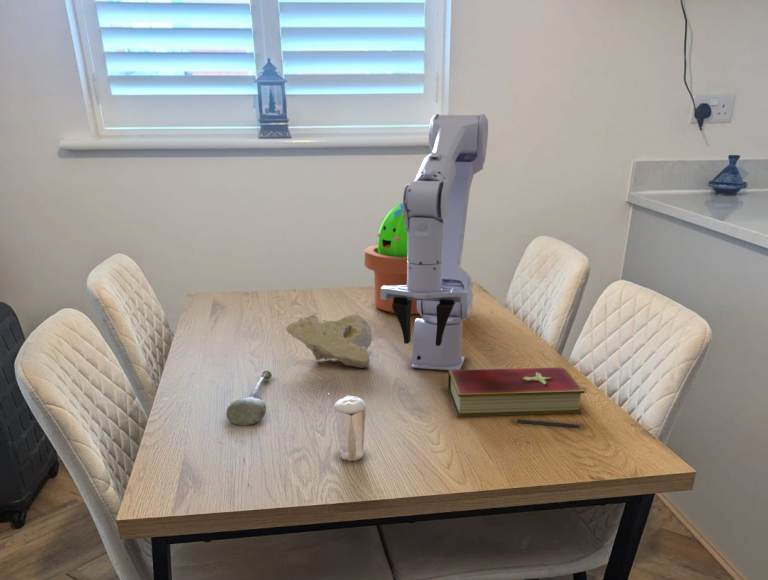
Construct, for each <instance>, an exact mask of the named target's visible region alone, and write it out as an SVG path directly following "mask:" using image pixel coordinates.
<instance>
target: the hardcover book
mask: <svg viewBox="0 0 768 580" xmlns="http://www.w3.org/2000/svg"><path fill="white" fill-rule="evenodd" d="M447 374H448V375H447V377H448V378H447V392H448V395H449V398H450V400H451V403H452V406H453V410H454V412H455V415H456V417H457V418H465V417H466V418H467V417H496V416H501V417H502V416H527V415H528V416H531V415H563V414H565V415H567V414H582V413H583V410H582V409H581V408H580V403H581V397H582V394H585V389H584V388H583V387H582V386H581V385H580V384H579V382H578V381H577V380H576V379H575V377H574V376H573V375H572V374H571V372H570V371H569V370H568V369H567V367H565V366H562V367H561V366H557V367H524V368H523V367H522V368H521V367H520V368H489V369H488V368H487V369H483V368H482V369H481V368H480V369H460V370H448V373H447Z"/></svg>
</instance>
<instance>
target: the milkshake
mask: <svg viewBox="0 0 768 580" xmlns="http://www.w3.org/2000/svg"><path fill="white" fill-rule="evenodd" d="M327 396H328V398H329V399H330V401H331V403H332V405H333V406H334V413H335V419H336V427H337V436H338V444H339V452H340V457H341V458H342V459H343V460H344V461H348V462H357V461H359V460H362V458H363V456H364V447H365V427H366V414H367V404H366V402H365V401H364V400H363V399H362V398H359V397H358V396H356V395H355V396H354V395H353V396H352V395H346V396H345V397H343V398H339V399H338V400H336V402H335V403H334V401H333V399H332V398H331V395H330V393H328V395H327Z"/></svg>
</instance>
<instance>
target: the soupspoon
mask: <svg viewBox="0 0 768 580" xmlns="http://www.w3.org/2000/svg"><path fill="white" fill-rule="evenodd" d="M261 374H262V375H261V376H260V378H259V380H258V381H257V382H256V384H255V385H254V388H253V389H252V391H251V392H250V394H249V397H248V396H247V397H242V398H238V399H236V400H234V401H233V402H230V404H229V405H228V406H227V408H226V411H225V412H226V418H227V419H228V420H229V421H230V423H232V424H234V425H237V426H240V427H242V426H243V427H247V426H252V425H255V424H257V423H259V422H260V421H261V420H262V419H263V418H264V416H265V414H266V411H267V405H266V403H265V402H264V400H262V399H260V398H257V397H256V394H257V392H258V390H259V389H260V387H261V384H262V383H263V382H264V381H265V380H271V378H272V376H273V375H272V372H271V370H264V371H262V373H261Z"/></svg>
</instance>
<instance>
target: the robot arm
mask: <svg viewBox="0 0 768 580" xmlns="http://www.w3.org/2000/svg"><path fill="white" fill-rule="evenodd" d="M488 137H489V120H488V117H487V116H486V115H485V114H484V113H481V114H439V113H435V114H434V115H433V116H432V117H431V119H430V122H429V126H428V146H429V149H430V154H428V155H427V156H426V157H425V158H424V159H423V161H422V163H421V166H420V168H419V170H418V173H417V174H416V177H415V179H414V180H411V181H410V183H406V184H405V187H404V189H403V196H402V203H403V212H404V218H405V231H407V232H408V246H407V285H397V286H384V285H383V286H382V287H381V288H380V289H381V300H387V299H393V304H392V308H393V310H394V312H395V313H394V314H395V316H396V318H397V321H398V323H399V325H400V330H401V333H402V337H403V342H404V344H406V345H409V344H410V342H411V341H412V364H411V368H412V369H420V370H421V369H422V370H423V369H424V370H437V371H449V370H462V368H463V367H462V366H463V365H464V362H465V360H466V356H464V355H462V345H463V344H462V343H463V325H464V320H467V319H468V318H469V317H470V316H471V312H472V308H473V295H474V293H473V287H474V281H473V278H472V276H471V275H470V274H469V273H468V272H467V271H466V270H464V269H463V268H462V266H461V264H462V257H463V248H464V240H465V234H466V233H465V232H466V224H467V223H466V222H467V215H468V206H469V199H470V191H471V187H472V184H473V183H472V182H473V179H474V175H475V174H476V175H477V173H479V172H480V171H482V170H484V164H485V162H486V154H487V148H488ZM412 300H417V311H418V313H419V314H418V315H419V316H420V317H417V318H415V321H414V323H413V331H412V328H411V327H412V326H411V317H412V316H411V315H412V314H411V303H412ZM411 339H412V340H411Z"/></svg>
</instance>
